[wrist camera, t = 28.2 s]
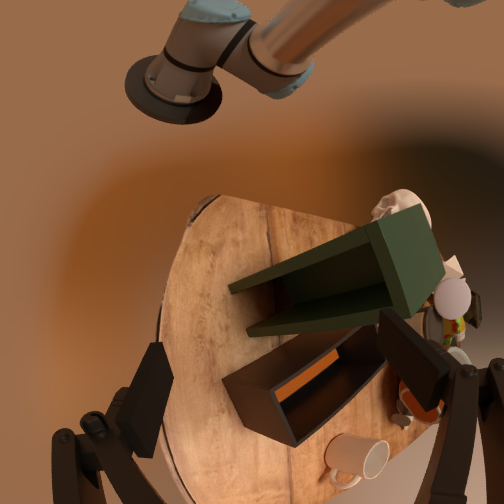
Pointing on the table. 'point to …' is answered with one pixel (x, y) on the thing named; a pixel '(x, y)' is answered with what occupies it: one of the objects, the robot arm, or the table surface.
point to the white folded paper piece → (452, 269)
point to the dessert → (406, 415)
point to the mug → (356, 458)
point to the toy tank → (474, 311)
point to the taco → (450, 330)
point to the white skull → (397, 204)
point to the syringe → (401, 415)
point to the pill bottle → (460, 331)
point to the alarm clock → (434, 414)
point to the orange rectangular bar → (306, 376)
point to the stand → (355, 277)
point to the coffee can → (428, 324)
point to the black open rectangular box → (313, 392)
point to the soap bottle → (452, 298)
